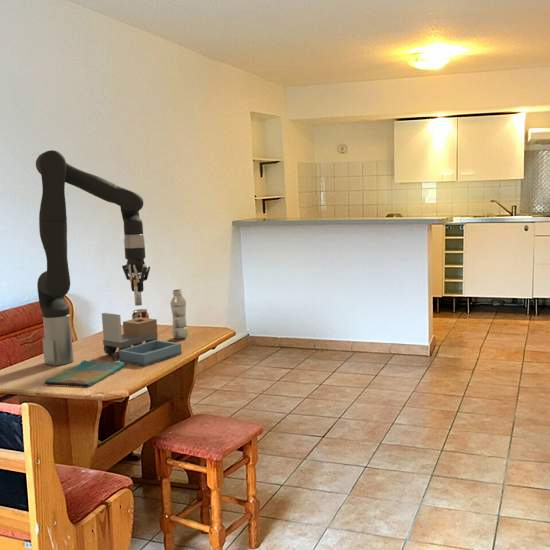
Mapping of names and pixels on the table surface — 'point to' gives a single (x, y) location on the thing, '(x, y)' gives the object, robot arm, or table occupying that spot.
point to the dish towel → (85, 374)
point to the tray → (150, 352)
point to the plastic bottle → (179, 315)
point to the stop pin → (137, 294)
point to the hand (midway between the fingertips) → (137, 291)
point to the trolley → (126, 333)
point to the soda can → (140, 314)
